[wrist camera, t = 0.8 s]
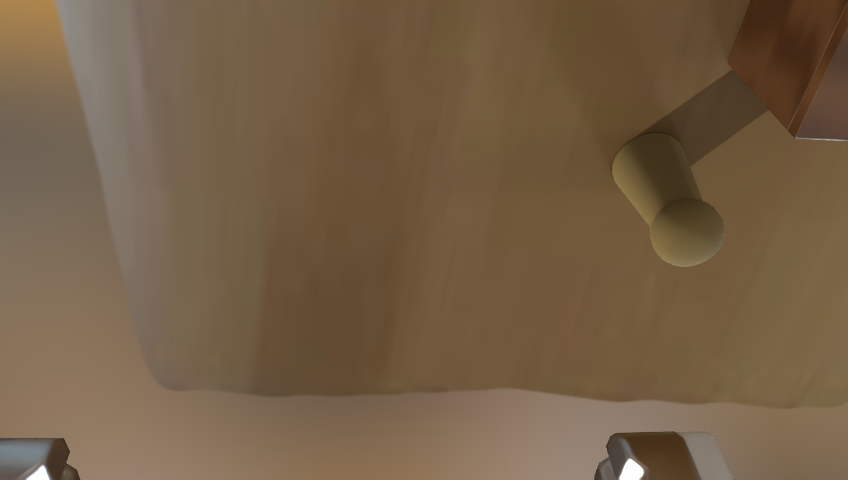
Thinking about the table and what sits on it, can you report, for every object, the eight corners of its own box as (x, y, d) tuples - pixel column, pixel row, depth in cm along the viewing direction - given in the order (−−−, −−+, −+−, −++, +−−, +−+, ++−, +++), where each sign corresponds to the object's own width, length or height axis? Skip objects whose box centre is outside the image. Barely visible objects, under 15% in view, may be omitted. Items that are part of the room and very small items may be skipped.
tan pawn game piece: (642, 204, 63) (687, 290, 55) (597, 170, 60) (636, 255, 52) (698, 157, 60) (754, 241, 52) (653, 119, 58) (704, 200, 49)
